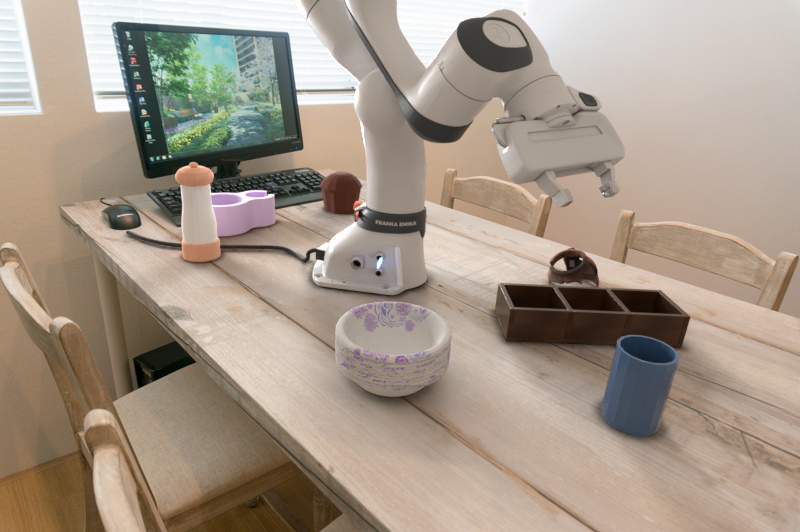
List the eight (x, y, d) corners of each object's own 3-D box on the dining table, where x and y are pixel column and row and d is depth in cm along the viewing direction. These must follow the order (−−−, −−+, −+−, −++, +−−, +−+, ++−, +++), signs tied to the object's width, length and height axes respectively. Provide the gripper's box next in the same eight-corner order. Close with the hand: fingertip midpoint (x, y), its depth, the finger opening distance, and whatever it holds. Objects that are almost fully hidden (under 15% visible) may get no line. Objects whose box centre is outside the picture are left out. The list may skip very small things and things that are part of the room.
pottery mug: (607, 299, 101) (597, 266, 96) (558, 312, 104) (546, 281, 99) (594, 261, 110) (584, 231, 106) (549, 275, 113) (538, 245, 109)
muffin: (343, 217, 138) (343, 179, 134) (311, 209, 144) (310, 172, 140) (369, 208, 148) (371, 172, 144) (339, 201, 153) (339, 166, 149)
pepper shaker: (191, 264, 104) (181, 168, 97) (177, 253, 109) (167, 160, 102) (226, 257, 108) (219, 164, 101) (211, 247, 113) (204, 157, 106)
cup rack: (505, 341, 83) (510, 309, 81) (494, 312, 92) (498, 282, 90) (681, 348, 84) (690, 316, 82) (653, 318, 93) (660, 289, 91)
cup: (613, 435, 63) (631, 363, 59) (593, 400, 70) (608, 333, 66) (668, 437, 63) (690, 366, 60) (643, 402, 70) (662, 336, 66)
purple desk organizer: (259, 213, 138) (258, 187, 135) (284, 225, 129) (283, 198, 127) (182, 225, 125) (179, 197, 123) (203, 240, 117) (201, 210, 114)
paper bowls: (356, 423, 63) (358, 366, 60) (321, 357, 75) (321, 308, 72) (467, 398, 69) (474, 344, 66) (417, 340, 81) (421, 294, 78)
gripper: (500, 102, 65) (551, 197, 62) (605, 96, 76) (654, 177, 72) (473, 134, 70) (519, 224, 67) (575, 124, 81) (620, 201, 77)
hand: (590, 199), depth 69 cm, fingers open, 8 cm apart
